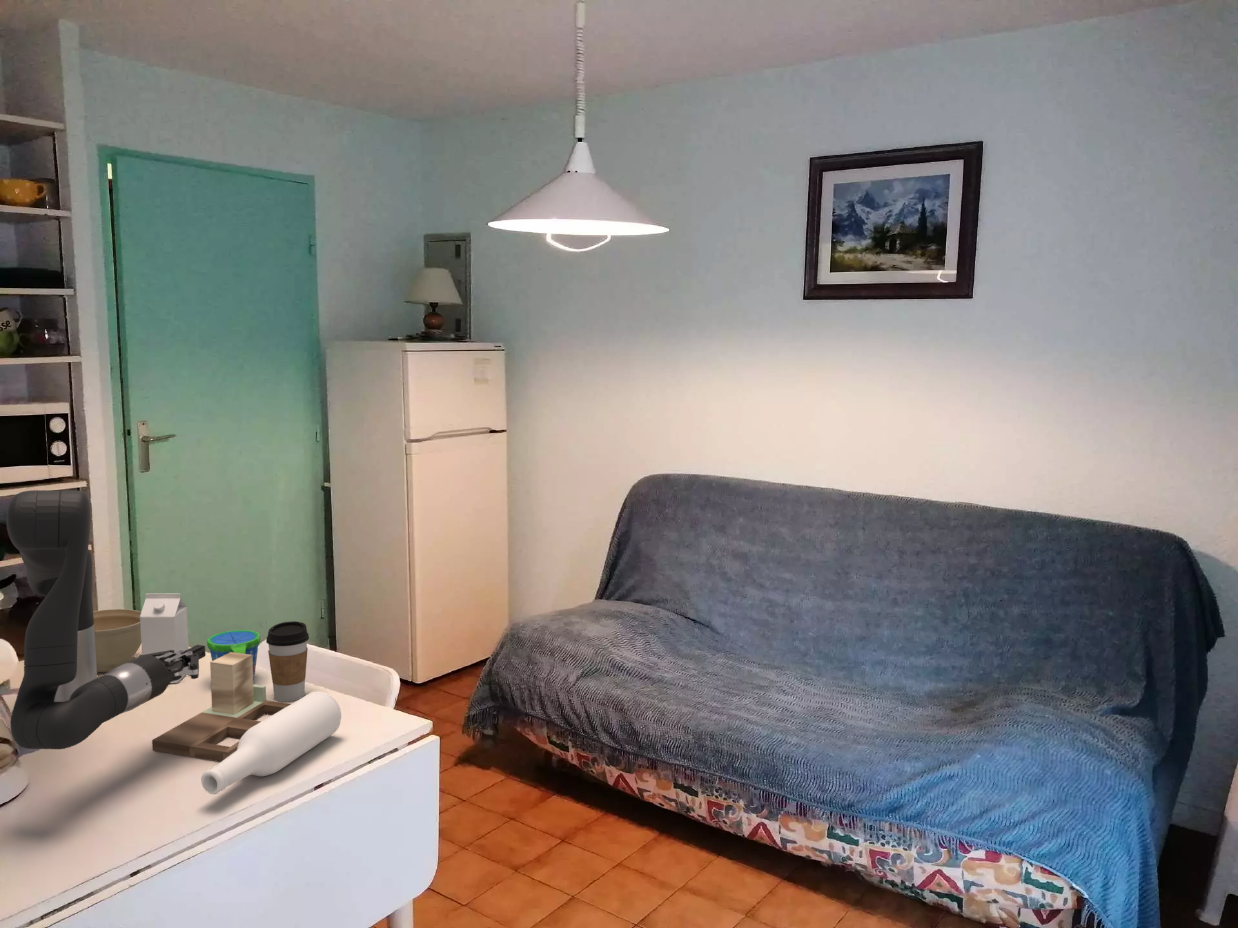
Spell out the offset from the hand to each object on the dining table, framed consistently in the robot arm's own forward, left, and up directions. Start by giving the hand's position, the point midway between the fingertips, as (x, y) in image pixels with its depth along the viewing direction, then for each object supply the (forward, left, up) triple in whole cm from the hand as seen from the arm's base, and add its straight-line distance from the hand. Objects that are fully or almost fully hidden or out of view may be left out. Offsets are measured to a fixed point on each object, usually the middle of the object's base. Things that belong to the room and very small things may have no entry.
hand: (201, 649), depth 175 cm
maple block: (+7, +4, -14) cm, 16 cm away
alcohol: (+16, -15, -12) cm, 25 cm away
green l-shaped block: (+7, +4, -16) cm, 18 cm away
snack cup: (+15, +21, -16) cm, 31 cm away
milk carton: (+5, +33, -16) cm, 37 cm away
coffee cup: (+20, +6, -16) cm, 26 cm away
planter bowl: (-2, +49, -16) cm, 52 cm away
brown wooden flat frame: (+4, -3, -16) cm, 17 cm away
